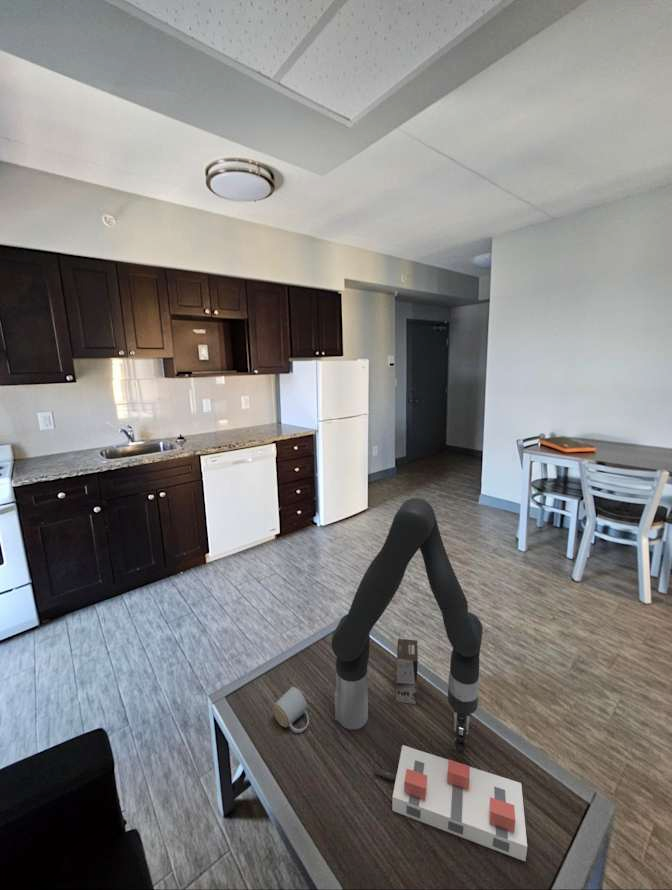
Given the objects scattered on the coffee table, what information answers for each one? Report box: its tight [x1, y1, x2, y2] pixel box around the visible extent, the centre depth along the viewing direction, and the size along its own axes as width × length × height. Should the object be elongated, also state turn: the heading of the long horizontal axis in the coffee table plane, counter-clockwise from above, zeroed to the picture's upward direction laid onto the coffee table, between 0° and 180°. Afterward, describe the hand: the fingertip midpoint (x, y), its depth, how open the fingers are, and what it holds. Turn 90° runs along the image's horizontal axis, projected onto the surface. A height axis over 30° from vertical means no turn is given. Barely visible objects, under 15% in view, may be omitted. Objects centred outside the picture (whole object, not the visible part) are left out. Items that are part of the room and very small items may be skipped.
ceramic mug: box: [272, 686, 310, 734], centre depth 115 cm, size 11×8×8 cm
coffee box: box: [396, 638, 419, 705], centre depth 123 cm, size 9×6×16 cm
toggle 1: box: [404, 769, 427, 800], centre depth 92 cm, size 5×3×4 cm, turn 70°
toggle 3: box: [489, 797, 515, 832], centre depth 85 cm, size 5×3×4 cm, turn 70°
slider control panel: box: [373, 744, 528, 862], centre depth 94 cm, size 35×13×5 cm, turn 70°
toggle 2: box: [447, 759, 471, 790], centre depth 94 cm, size 5×3×4 cm, turn 70°
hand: (460, 736), depth 103 cm, fingers open, 8 cm apart
